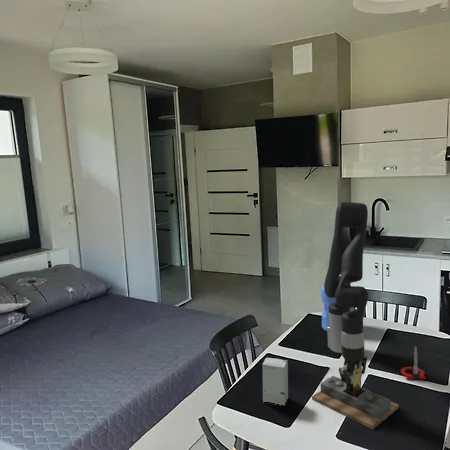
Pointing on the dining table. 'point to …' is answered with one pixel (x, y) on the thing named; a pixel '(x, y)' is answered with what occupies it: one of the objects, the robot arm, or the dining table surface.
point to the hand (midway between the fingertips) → (353, 389)
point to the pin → (356, 383)
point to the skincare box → (275, 381)
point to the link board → (352, 410)
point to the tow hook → (414, 370)
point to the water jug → (327, 308)
